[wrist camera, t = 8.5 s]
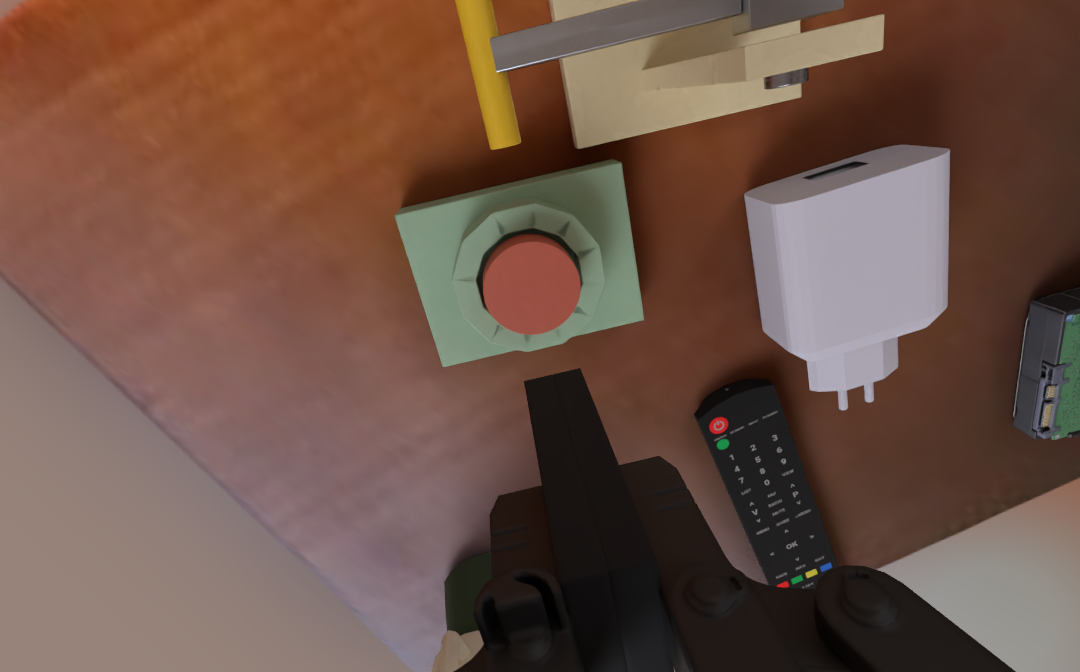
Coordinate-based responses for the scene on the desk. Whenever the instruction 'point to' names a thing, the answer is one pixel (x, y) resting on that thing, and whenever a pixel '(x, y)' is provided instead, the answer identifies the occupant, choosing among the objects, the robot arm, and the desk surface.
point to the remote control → (767, 482)
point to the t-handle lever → (597, 40)
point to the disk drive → (1050, 368)
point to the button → (530, 284)
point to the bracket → (695, 72)
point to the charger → (852, 261)
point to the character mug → (462, 613)
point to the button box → (504, 212)
